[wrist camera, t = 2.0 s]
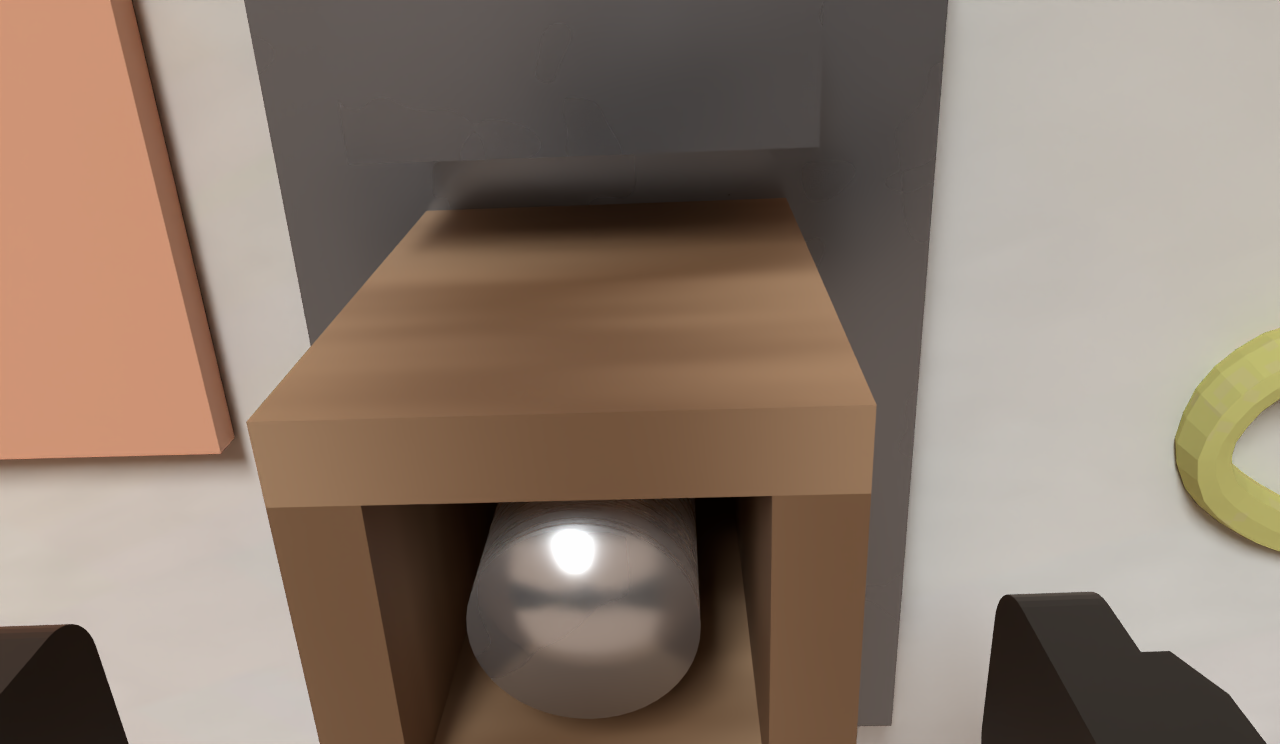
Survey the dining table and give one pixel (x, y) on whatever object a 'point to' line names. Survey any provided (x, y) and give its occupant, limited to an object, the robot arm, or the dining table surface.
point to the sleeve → (577, 464)
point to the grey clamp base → (623, 174)
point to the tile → (94, 249)
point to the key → (1231, 440)
